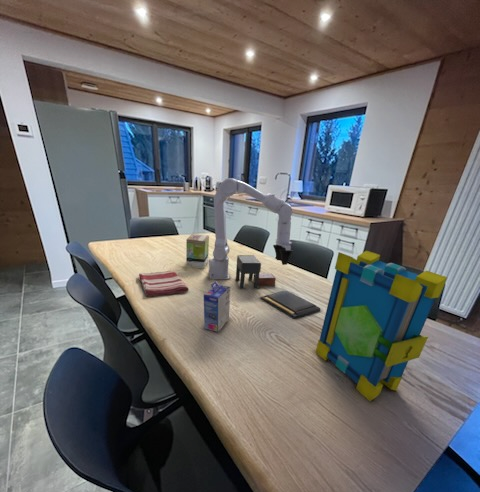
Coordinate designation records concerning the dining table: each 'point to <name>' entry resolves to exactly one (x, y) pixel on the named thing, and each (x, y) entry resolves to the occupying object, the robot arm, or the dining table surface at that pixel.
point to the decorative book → (376, 320)
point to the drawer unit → (248, 269)
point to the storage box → (266, 279)
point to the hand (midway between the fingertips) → (281, 262)
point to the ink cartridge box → (216, 307)
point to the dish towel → (162, 283)
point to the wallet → (290, 304)
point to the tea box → (197, 251)
